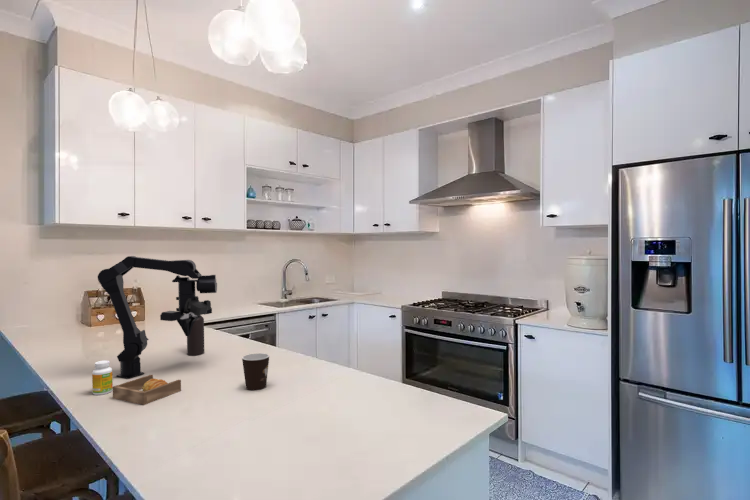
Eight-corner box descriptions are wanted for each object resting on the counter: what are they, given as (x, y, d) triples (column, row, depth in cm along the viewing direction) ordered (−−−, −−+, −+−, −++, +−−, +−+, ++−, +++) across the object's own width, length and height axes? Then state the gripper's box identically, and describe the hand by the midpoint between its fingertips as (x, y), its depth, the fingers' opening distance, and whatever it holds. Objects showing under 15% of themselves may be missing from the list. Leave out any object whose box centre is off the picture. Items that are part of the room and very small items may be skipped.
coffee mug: (255, 393, 132) (254, 361, 132) (236, 388, 136) (236, 357, 136) (281, 382, 142) (281, 353, 142) (263, 378, 146) (263, 350, 146)
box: (112, 398, 129) (112, 386, 129) (151, 384, 141) (150, 374, 141) (143, 405, 123) (143, 393, 123) (181, 390, 135) (180, 379, 135)
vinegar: (198, 351, 185) (198, 305, 184) (207, 353, 181) (206, 306, 180) (183, 354, 179) (183, 307, 179) (192, 356, 175) (192, 309, 175)
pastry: (176, 392, 134) (176, 380, 134) (155, 399, 128) (155, 386, 128) (160, 387, 139) (159, 375, 139) (139, 393, 134) (139, 381, 133)
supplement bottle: (102, 395, 131) (102, 364, 131) (88, 394, 132) (87, 364, 132) (116, 389, 136) (116, 360, 136) (102, 388, 137) (102, 359, 137)
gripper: (181, 298, 143) (182, 343, 143) (222, 292, 160) (223, 332, 160) (158, 296, 148) (159, 340, 148) (200, 290, 165) (201, 330, 165)
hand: (187, 336), depth 155 cm, fingers closed
